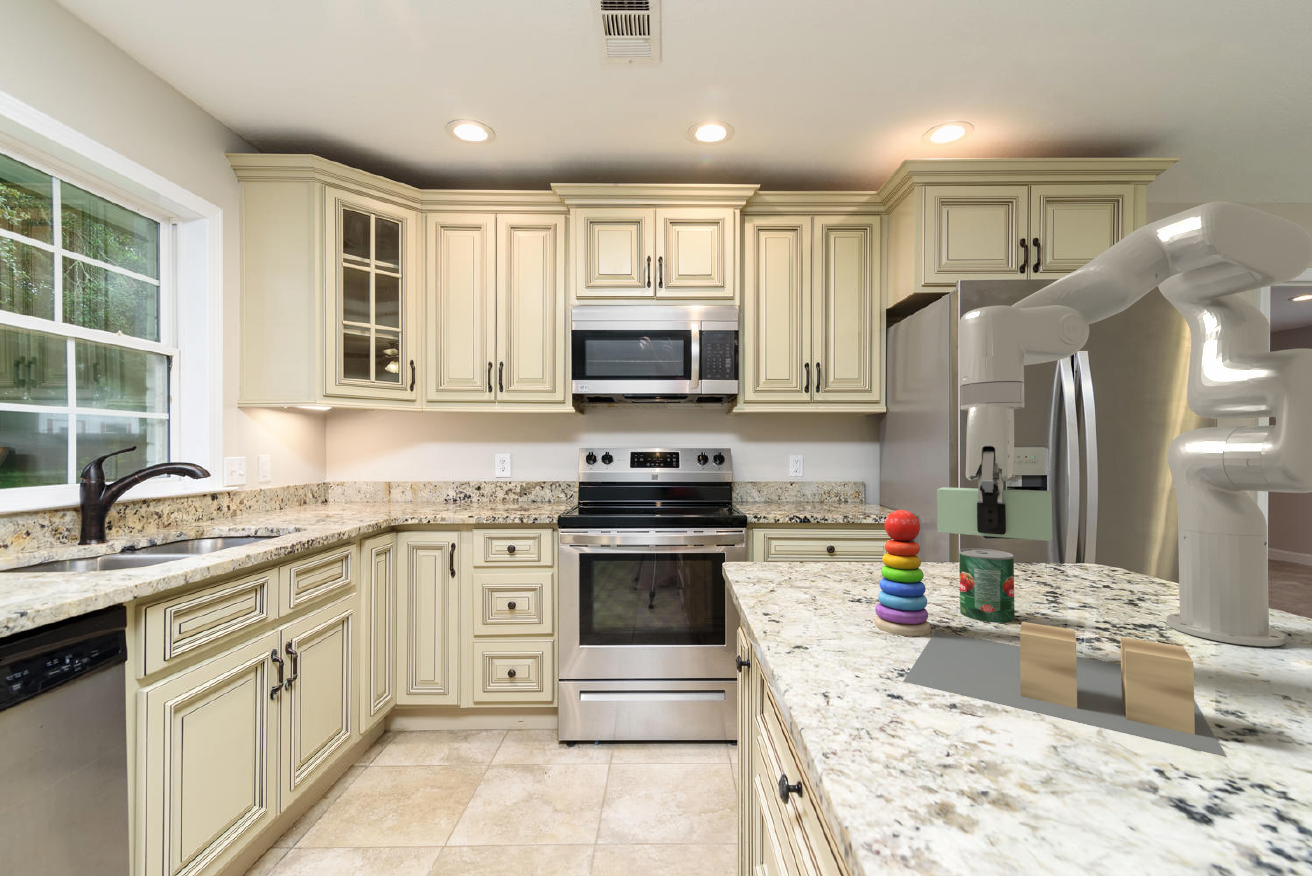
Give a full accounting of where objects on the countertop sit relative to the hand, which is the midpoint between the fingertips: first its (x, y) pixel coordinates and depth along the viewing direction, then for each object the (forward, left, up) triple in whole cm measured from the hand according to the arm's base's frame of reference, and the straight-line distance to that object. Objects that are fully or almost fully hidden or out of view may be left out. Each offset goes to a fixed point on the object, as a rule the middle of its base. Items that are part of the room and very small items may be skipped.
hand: (993, 529), depth 75 cm
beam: (0, 0, -1) cm, 1 cm away
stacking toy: (-3, -13, -18) cm, 22 cm away
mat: (+7, +5, -17) cm, 19 cm away
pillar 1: (+12, +6, -17) cm, 21 cm away
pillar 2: (+12, +15, -17) cm, 25 cm away
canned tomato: (-18, -3, -18) cm, 26 cm away
